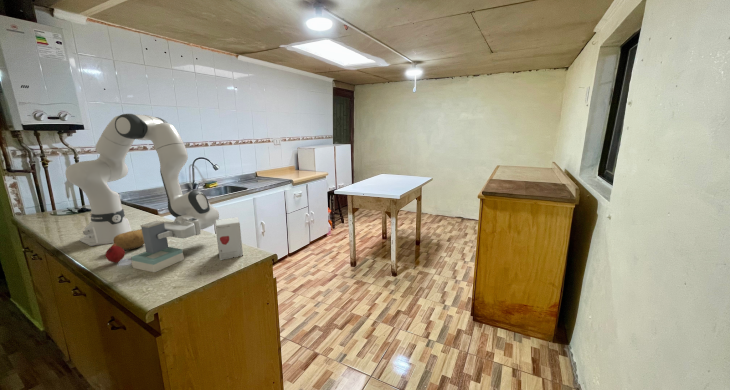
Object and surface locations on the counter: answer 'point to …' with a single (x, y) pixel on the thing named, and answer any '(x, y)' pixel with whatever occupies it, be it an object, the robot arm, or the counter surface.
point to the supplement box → (229, 238)
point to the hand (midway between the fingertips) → (152, 236)
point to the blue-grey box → (154, 236)
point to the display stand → (157, 259)
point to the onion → (115, 253)
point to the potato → (129, 239)
